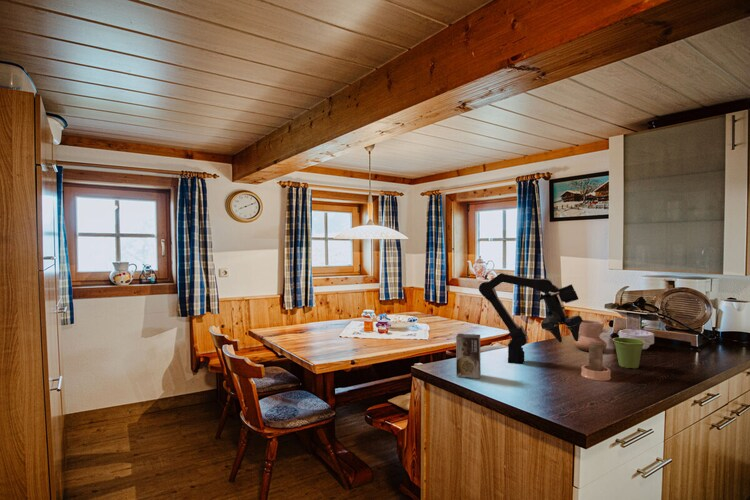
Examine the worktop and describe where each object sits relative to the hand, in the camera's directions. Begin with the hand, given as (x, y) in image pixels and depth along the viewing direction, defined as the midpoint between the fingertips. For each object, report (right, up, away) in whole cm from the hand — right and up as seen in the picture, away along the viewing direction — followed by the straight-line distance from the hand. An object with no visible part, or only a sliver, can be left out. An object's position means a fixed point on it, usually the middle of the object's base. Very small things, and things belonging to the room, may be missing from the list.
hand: (568, 341), depth 176 cm
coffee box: (-45, -11, -11) cm, 48 cm away
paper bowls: (+51, -11, +36) cm, 64 cm away
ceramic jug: (+25, -11, +31) cm, 41 cm away
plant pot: (+27, -11, +2) cm, 29 cm away
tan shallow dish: (+5, -11, -12) cm, 17 cm away
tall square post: (+5, -10, -12) cm, 16 cm away
